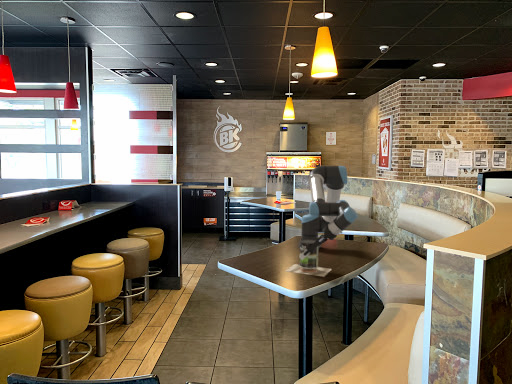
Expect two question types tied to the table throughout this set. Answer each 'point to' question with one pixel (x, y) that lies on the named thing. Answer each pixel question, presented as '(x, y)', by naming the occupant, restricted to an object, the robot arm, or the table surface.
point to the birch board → (319, 272)
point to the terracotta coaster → (308, 270)
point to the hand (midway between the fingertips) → (303, 256)
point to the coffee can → (312, 258)
